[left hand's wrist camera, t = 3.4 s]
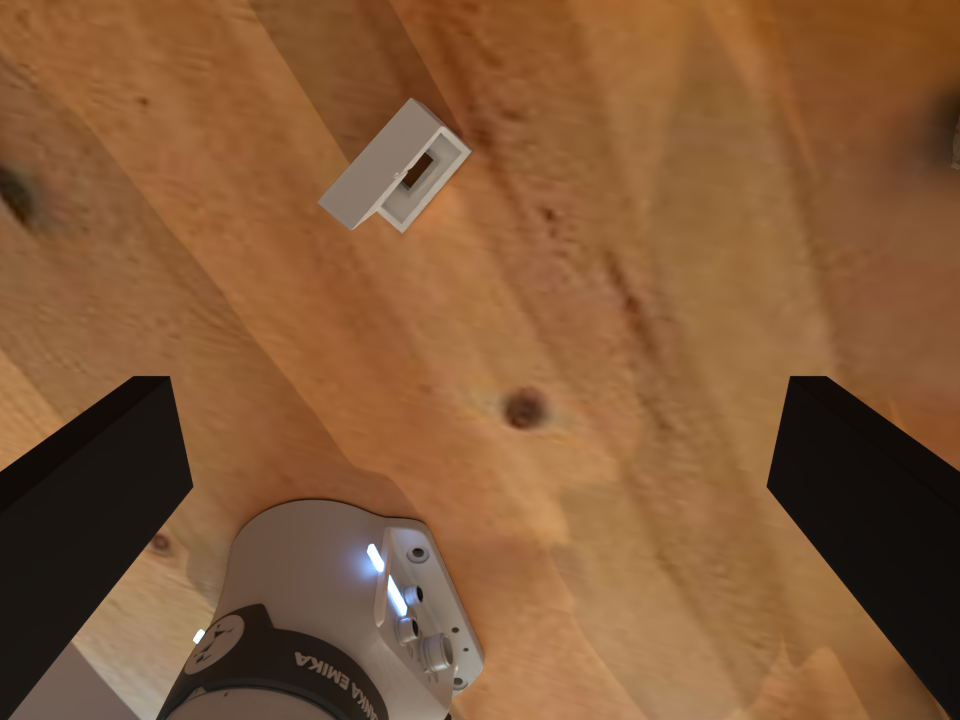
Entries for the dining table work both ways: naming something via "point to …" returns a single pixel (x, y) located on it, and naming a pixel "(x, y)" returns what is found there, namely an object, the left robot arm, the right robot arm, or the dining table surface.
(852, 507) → the left robot arm
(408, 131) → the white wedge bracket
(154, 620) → the dining table surface
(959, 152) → the decorative rock
